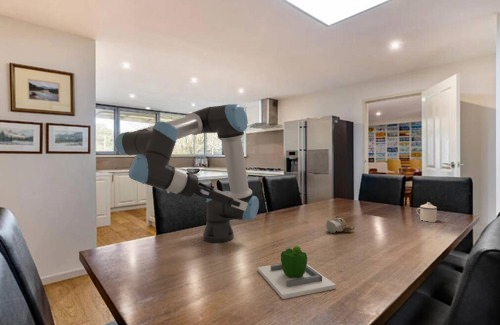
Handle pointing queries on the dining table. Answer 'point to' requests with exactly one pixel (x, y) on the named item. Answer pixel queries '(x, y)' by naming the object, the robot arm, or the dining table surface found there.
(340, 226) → the garlic bulb
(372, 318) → the dining table surface
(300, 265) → the bell pepper
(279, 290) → the board
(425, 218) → the teacup with lid
